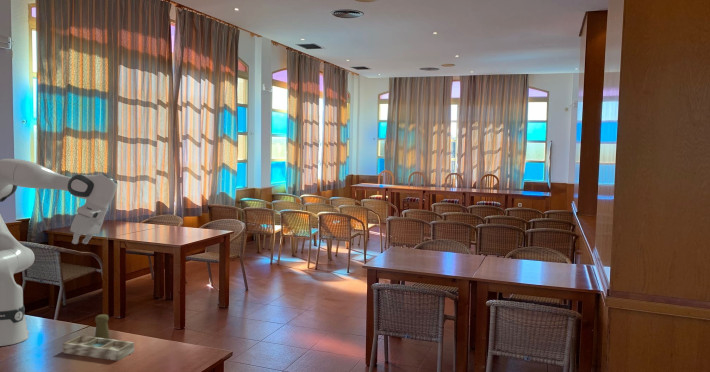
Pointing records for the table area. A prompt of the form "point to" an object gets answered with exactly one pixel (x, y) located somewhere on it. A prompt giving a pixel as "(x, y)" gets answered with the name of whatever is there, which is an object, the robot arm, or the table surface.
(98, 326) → the cork
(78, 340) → the divided tray
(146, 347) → the table surface
